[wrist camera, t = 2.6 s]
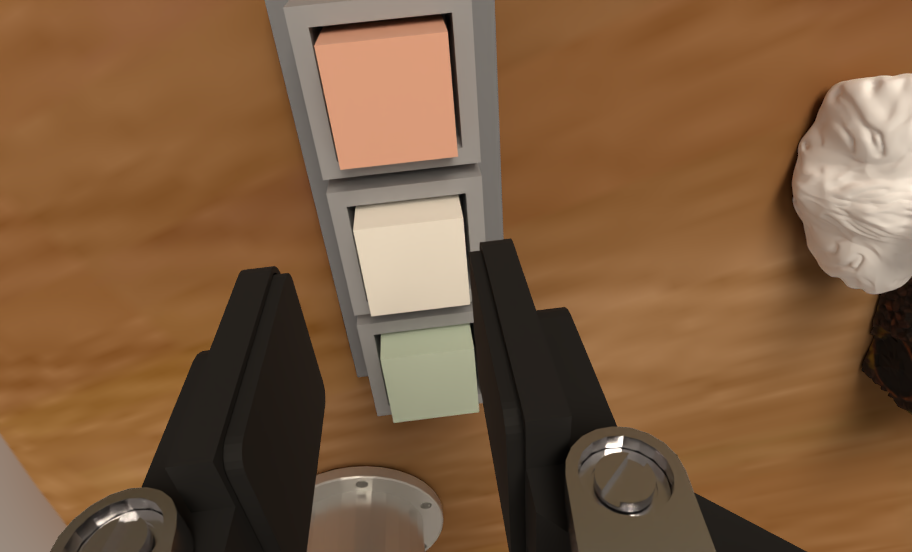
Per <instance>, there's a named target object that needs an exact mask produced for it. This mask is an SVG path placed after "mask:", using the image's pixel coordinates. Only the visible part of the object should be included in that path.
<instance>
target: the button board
mask: <svg viewBox="0 0 912 552" xmlns="http://www.w3.org/2000/svg"><path fill="white" fill-rule="evenodd" d="M265 4H266V8H267V12H268V16H269V20H270V24H271V28H272V32H273V36H274V40H275V44H276V48H277V52H278V56H279V60H280V64H281V68H282V72H283V77H284V81H285V85H286V89H287V93H288V97H289V101H290V105H291V109H292V113H293V117H294V121H295V125H296V129H297V133H298V137H299V141H300V145H301V149H302V154H303V158H304V162H305V166H306V170H307V174H308V178H309V182H310V186H311V190H312V194H313V198H314V202H315V206H316V210H317V214H318V218H319V222H320V226H321V231H322V235H323V239H324V243H325V247H326V251H327V255H328V259H329V263H330V267H331V271H332V275H333V279H334V283H335V287H336V291H337V295H338V299H339V303H340V308H341V312H342V316H343V320H344V324H345V328H346V332H347V336H348V340H349V344H350V348H351V352H352V356H353V360H354V364H355V368H356V372H357V376H358V377H364V376H368V377H369V381H370V385H371V389H372V394H373V398H374V402H375V407H376V411H377V415H378V416H383V415H391V414H392V412H391V408H390V403H389V398H388V393H387V389H386V384H385V379H384V374H383V370H382V365H381V360H380V356H381V334H384V333H392V332H400V331H409V330H417V329H425V328H433V327H441V326H450V325H458V324H466V323H470V329H471V334H472V340H473V346H474V355H475V367H476V379H477V392H478V403H483V401H482V395H481V389H480V384H479V377H478V368H477V357H476V344H475V332H474V319H473V306H472V294H471V281H470V269H469V252H472V251H480V249H479V246H480V242H486V241H494V240H503V215H502V188H501V161H500V134H499V107H498V80H497V53H496V26H495V0H265ZM435 14H441V15H442V18H443V20H444V23H445V26H446V28H447V31H448V40H449V53H450V65H451V77H452V89H453V101H454V114H455V126H456V138H457V150H458V157H451V158H442V159H433V160H424V161H415V162H406V163H397V164H388V165H380V166H371V167H362V168H353V169H344V170H340V166H339V161H338V157H337V152H336V147H335V142H334V138H333V133H332V128H331V123H330V118H329V114H328V109H327V104H326V99H325V95H324V90H323V85H322V80H321V76H320V71H319V66H318V61H317V57H316V52H315V47H314V45H315V43H316V41H317V39H318V37H319V34H320V32H321V30H322V28H323V26H329V25H339V24H348V23H358V22H368V21H377V20H387V19H396V18H406V17H416V16H425V15H435ZM455 194H458V196H459V201H460V205H461V210H462V215H463V222H464V234H465V246H466V258H467V271H468V283H469V295H470V305H462V306H454V307H445V308H437V309H429V310H420V311H412V312H404V313H396V314H387V315H379V316H371V313H370V308H369V303H368V299H367V294H366V289H365V284H364V280H363V275H362V270H361V265H360V261H359V256H358V251H357V246H356V242H355V237H354V232H353V227H354V218H355V208H356V206H359V205H367V204H376V203H385V202H394V201H402V200H411V199H420V198H429V197H437V196H446V195H455Z"/></svg>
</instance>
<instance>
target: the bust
mask: <svg viewBox="0 0 912 552" xmlns="http://www.w3.org/2000/svg"><path fill="white" fill-rule="evenodd" d="M792 191H793V196H794V197H793V205H794V208H795V210H796V212H797V214H798V216H799V217H800V219H801V220H802V221H803V225H804V231H805V235H806V241H807V246H808V248H809V250H810V252H811V253H812V255H813V256H814V257H815V259H816V260H817V262H818V265H819V266H820V267H821V269H822V270H823V271H824V272H825V273H827V274H828V275H829V276H831V277H839V278H840V279H841V280H843V282H844V283H845V284H846V285H847V286H848V287H850V288H854V289H863V290H864V291H865V292H867V293H869V294H881V293H884V292H888V291H892V290H895V289H897V288H899V287H901V286H903V285H904V284H905V283H906V282H907V281H908V280H909V279H910V278H911V277H912V74H910V73H909V74H901V75H897V76H876V77H868V78H860V79H854V80H848V81H842V82H839V83H837V84H835V85H834V86H833V87H832V88H831V89H830V90H829V91H828V92H827V94H826V96H825V98H824V100H823V103H822V105H821V107H820V109H819V111H818V114H817V117H816V119H815V122H814V123H813V125H812V126H811V128H810V129H809V130H808V131H807V133H806V134H805V135H804V137H803V138H802V139H801V141H800V143H799V146H798V159H797V162H796V165H795V169H794V173H793V178H792Z"/></svg>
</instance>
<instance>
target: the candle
mask: <svg viewBox="0 0 912 552" xmlns="http://www.w3.org/2000/svg"><path fill="white" fill-rule="evenodd" d="M870 333H871V334H872V335H874V339H873V341H872V344H871V346H870V348H869V351H868V353H867V355H866V357H865V360H864V362H863V364H862V372H864V373H865V374H866V375H867V376H868V377H869V378H871V379H872V380H873V382H874V383H875V384H879V385H880V386H881V390H884V391H888V392H889V395H888V396H890V397H892V398H893V399H894V401H895V403H896V404H897V406H898V407H900V408H903V409H905V410H906V411H908V412H909V413H910V414H912V277H911V278H910V279H909V280H908V281H907V282H906V283H905V284H904V285H903V286H901V287H899V288H897V289H895V290H892V291H888V292H884V293H882V294H881V296H880V300H879V304H878V307H877V312H876V315H875V317H874V320H873V329H872V331H871V332H870Z"/></svg>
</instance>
